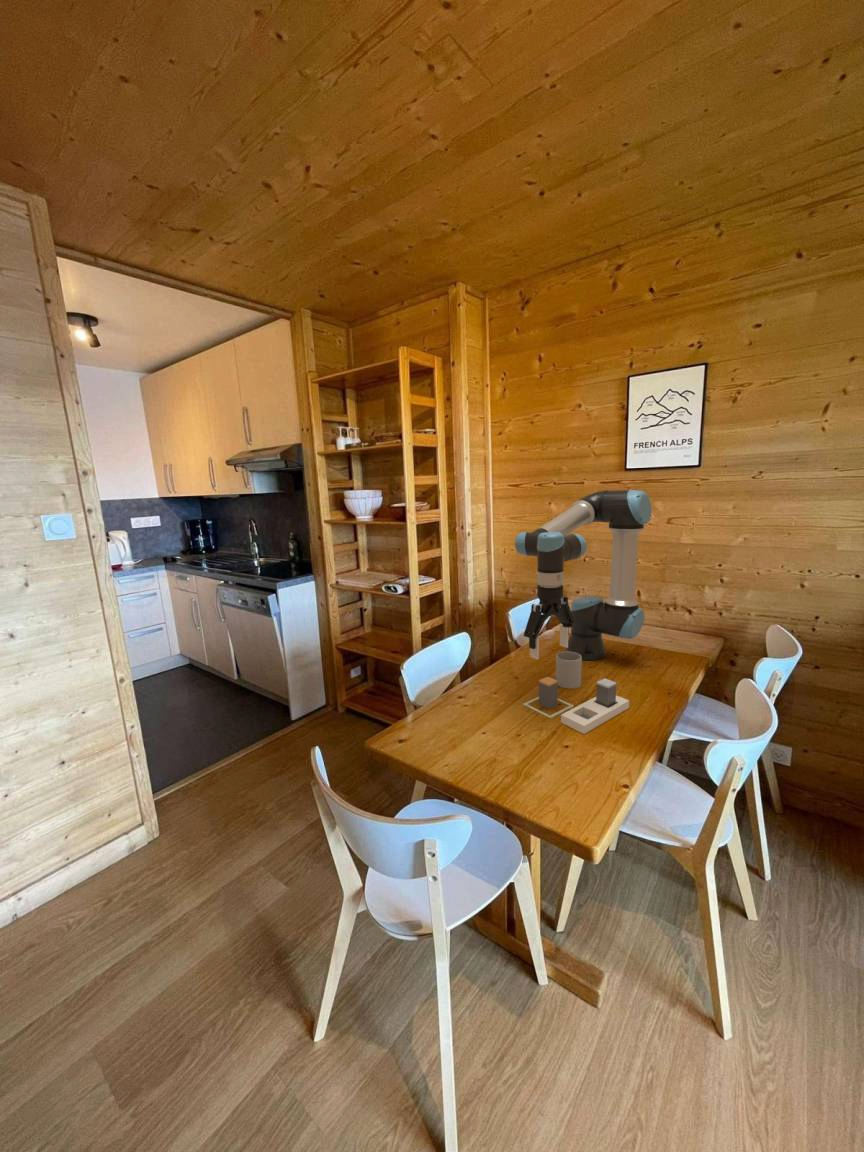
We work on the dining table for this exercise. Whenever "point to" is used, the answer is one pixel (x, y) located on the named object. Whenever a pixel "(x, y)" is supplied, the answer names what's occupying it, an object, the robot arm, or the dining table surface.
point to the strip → (592, 714)
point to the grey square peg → (606, 693)
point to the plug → (548, 693)
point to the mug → (568, 669)
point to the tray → (545, 713)
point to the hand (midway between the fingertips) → (549, 652)
